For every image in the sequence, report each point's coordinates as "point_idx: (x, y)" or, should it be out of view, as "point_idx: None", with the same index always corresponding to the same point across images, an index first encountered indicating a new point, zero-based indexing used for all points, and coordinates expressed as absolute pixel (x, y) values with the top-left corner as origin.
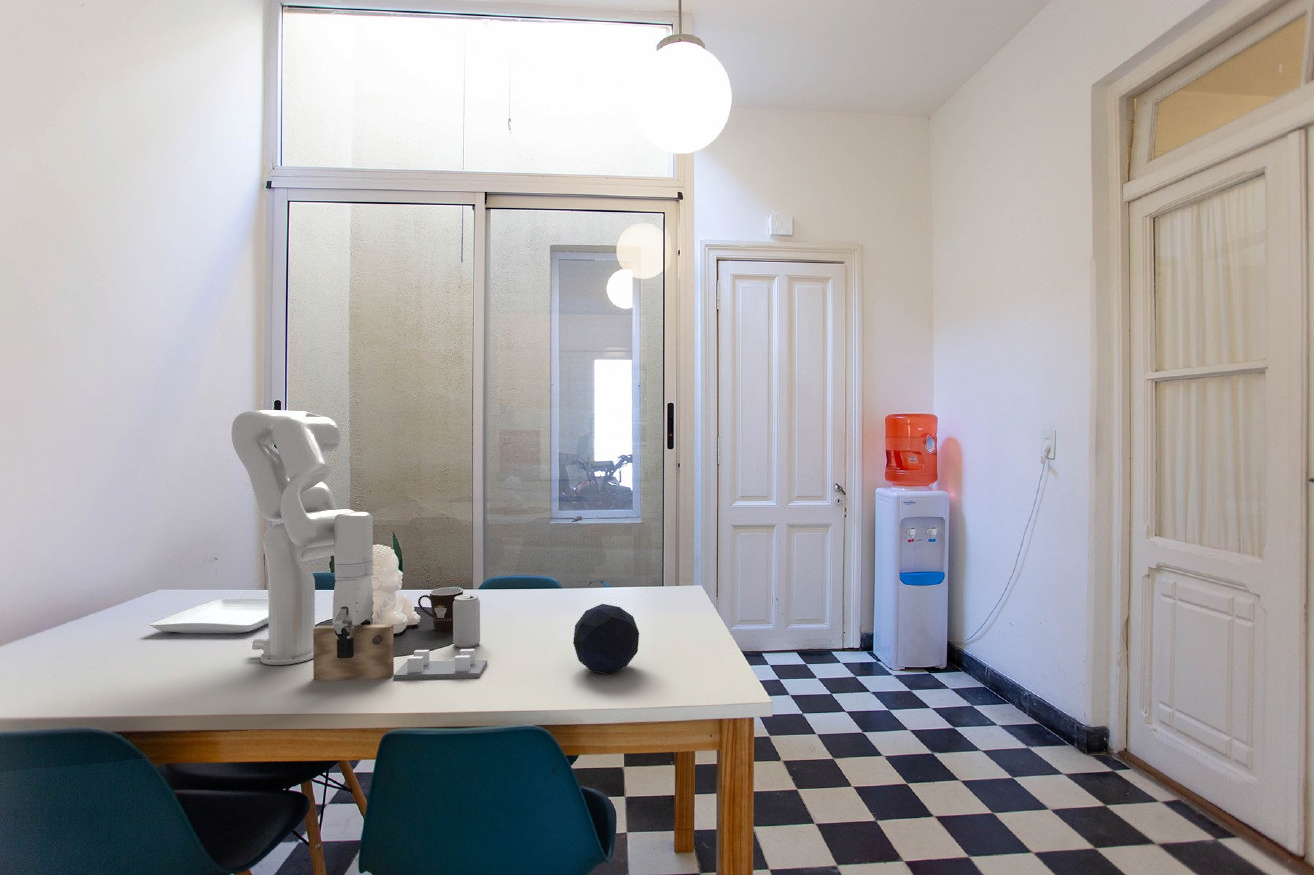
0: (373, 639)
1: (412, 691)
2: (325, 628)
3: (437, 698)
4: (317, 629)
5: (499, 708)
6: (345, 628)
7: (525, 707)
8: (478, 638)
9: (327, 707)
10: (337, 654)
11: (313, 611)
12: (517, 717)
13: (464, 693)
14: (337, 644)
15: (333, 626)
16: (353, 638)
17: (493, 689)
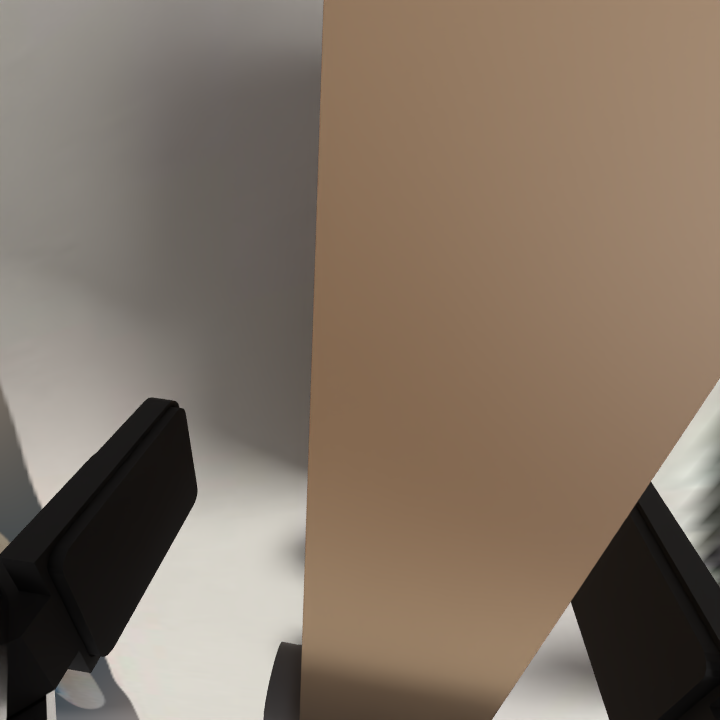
0: (268, 686)
1: (211, 555)
2: (314, 387)
3: (163, 602)
4: (334, 27)
5: (125, 677)
6: (302, 684)
7: (139, 702)
8: None
9: (5, 315)
10: (136, 415)
11: None
12: (90, 689)
13: (204, 644)
14: (62, 497)
15: (485, 546)
16: (93, 661)
17: (233, 683)
